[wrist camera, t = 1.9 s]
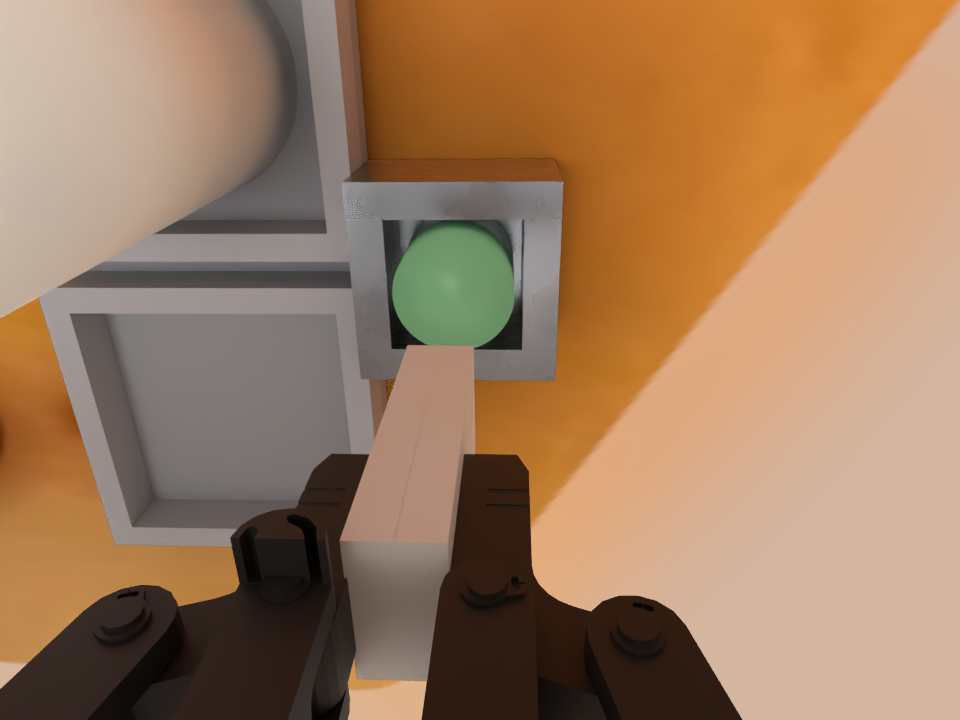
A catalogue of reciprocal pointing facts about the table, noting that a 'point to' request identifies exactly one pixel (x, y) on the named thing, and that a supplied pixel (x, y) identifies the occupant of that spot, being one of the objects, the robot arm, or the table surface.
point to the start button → (455, 282)
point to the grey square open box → (456, 196)
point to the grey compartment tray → (231, 327)
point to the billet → (128, 124)
